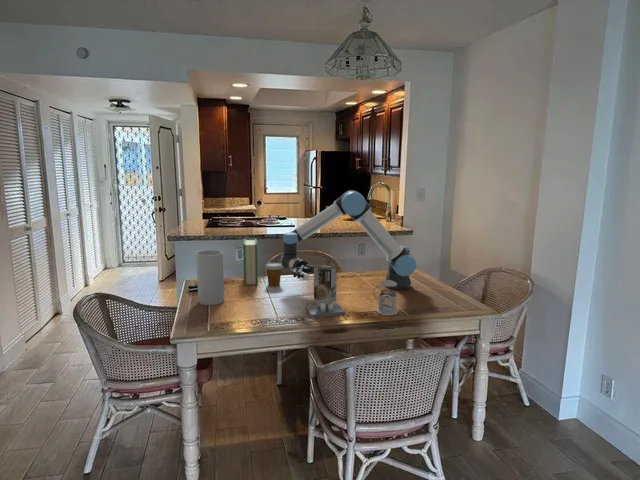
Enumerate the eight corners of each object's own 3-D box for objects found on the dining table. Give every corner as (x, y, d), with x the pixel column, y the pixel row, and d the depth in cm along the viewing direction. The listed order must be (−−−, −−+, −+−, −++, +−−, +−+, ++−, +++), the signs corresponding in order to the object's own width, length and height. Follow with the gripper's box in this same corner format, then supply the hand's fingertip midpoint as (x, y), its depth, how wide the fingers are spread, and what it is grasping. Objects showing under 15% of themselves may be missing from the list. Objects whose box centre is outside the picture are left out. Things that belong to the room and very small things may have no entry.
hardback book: (257, 285, 238) (256, 243, 234) (244, 286, 237) (243, 244, 233) (257, 277, 255) (256, 238, 251) (244, 277, 254) (243, 238, 250)
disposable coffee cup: (285, 284, 241) (285, 263, 239) (275, 288, 233) (275, 267, 231) (272, 281, 246) (272, 261, 244) (262, 285, 238) (261, 264, 236)
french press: (397, 316, 193) (400, 262, 189) (372, 313, 196) (374, 261, 191) (398, 308, 203) (400, 258, 198) (373, 307, 205) (375, 256, 201)
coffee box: (336, 300, 198) (337, 266, 195) (331, 304, 192) (331, 269, 189) (319, 297, 201) (319, 264, 199) (313, 301, 196) (313, 267, 193)
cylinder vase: (228, 299, 214) (227, 251, 210) (216, 307, 202) (214, 256, 198) (206, 296, 217) (204, 249, 213) (193, 304, 206) (191, 254, 201)
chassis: (337, 306, 205) (337, 295, 204) (345, 314, 194) (345, 303, 193) (305, 308, 201) (305, 297, 200) (311, 317, 190) (311, 306, 189)
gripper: (319, 270, 223) (342, 280, 205) (276, 276, 210) (297, 287, 193) (319, 256, 222) (342, 265, 204) (276, 261, 209) (297, 271, 191)
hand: (320, 275), depth 198 cm, fingers open, 13 cm apart
